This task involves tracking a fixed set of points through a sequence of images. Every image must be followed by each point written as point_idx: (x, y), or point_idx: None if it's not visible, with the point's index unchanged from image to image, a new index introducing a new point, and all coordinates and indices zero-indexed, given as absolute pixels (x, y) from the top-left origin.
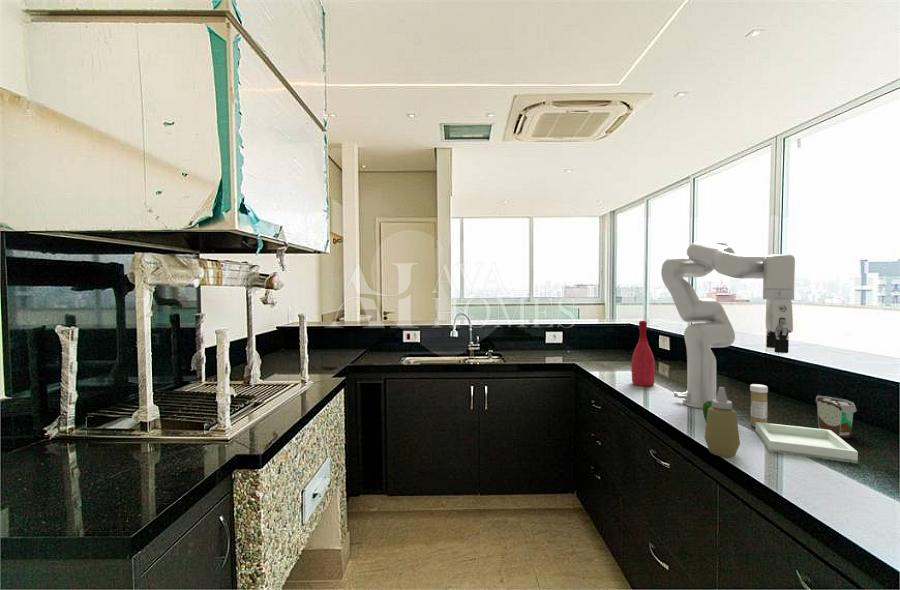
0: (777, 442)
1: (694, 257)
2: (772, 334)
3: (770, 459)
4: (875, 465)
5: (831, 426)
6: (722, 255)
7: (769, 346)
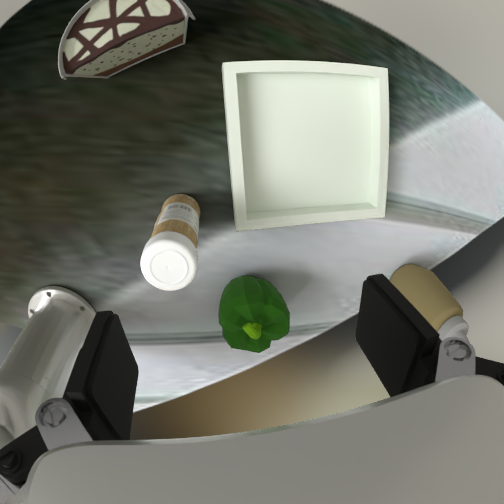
0: (384, 204)
1: None
2: (103, 437)
3: (408, 214)
4: (369, 43)
5: (149, 52)
6: None
7: (135, 365)
